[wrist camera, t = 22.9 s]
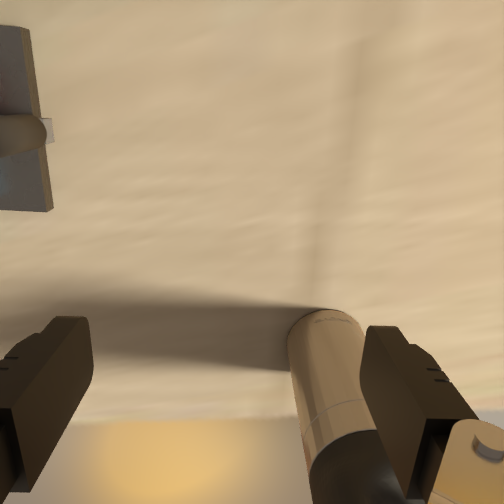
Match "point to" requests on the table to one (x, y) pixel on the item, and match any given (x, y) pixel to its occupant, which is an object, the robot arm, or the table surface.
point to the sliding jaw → (24, 133)
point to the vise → (21, 102)
